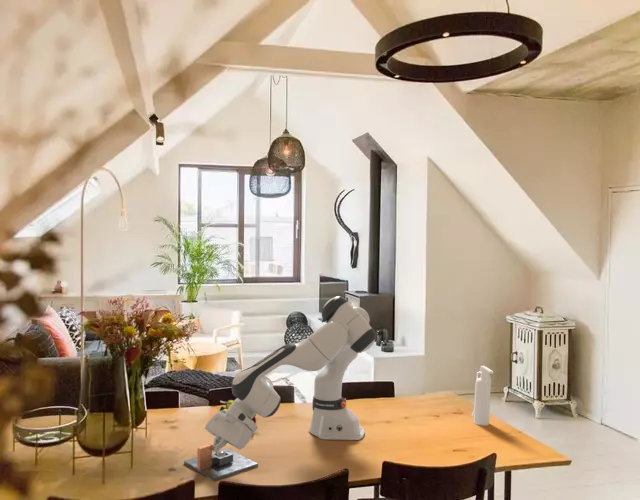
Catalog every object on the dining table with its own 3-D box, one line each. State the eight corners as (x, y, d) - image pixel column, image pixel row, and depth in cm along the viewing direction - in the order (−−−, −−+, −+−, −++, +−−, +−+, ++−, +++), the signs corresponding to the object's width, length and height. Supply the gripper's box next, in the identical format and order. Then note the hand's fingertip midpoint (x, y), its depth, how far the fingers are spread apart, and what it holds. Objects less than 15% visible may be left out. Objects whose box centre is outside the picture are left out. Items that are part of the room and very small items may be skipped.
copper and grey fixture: (203, 471, 193) (204, 450, 193) (193, 466, 197) (193, 446, 197) (233, 461, 203) (233, 441, 202) (222, 456, 206) (222, 436, 206)
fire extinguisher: (479, 416, 263) (481, 362, 261) (495, 426, 252) (497, 369, 250) (466, 418, 261) (468, 362, 259) (481, 428, 250) (483, 370, 248)
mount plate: (257, 466, 202) (258, 453, 202) (213, 481, 190) (214, 467, 190) (227, 450, 215) (227, 438, 215) (184, 463, 203) (184, 450, 202)
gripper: (216, 403, 210) (191, 436, 204) (250, 419, 195) (224, 455, 189) (226, 413, 214) (202, 445, 208) (260, 429, 199) (235, 465, 193)
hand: (213, 450), depth 198 cm, fingers closed, pressing on copper and grey fixture
